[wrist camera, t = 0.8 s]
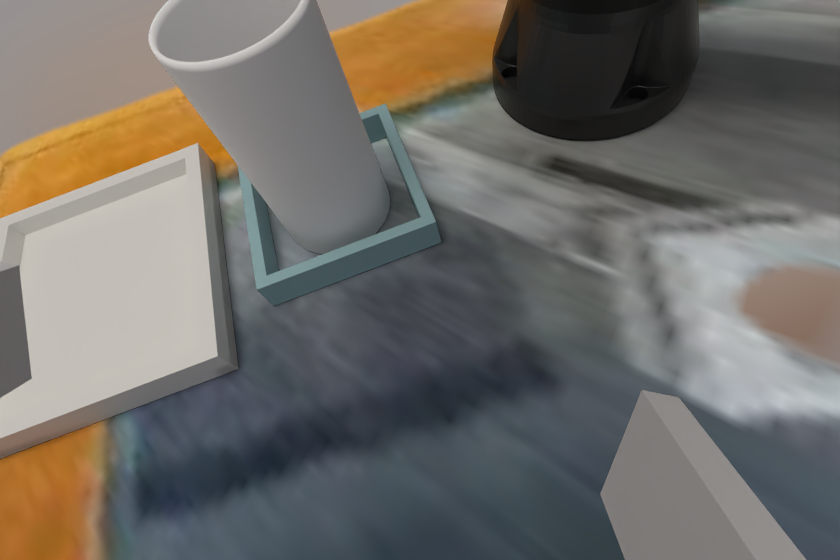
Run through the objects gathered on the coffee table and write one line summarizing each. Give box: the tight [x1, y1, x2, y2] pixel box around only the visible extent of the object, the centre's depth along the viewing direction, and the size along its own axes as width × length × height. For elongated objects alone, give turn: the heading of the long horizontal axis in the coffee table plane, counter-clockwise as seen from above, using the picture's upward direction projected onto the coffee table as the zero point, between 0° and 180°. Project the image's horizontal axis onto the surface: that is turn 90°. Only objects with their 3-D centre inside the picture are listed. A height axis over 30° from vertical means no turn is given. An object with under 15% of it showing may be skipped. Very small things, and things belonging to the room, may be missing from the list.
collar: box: [238, 104, 442, 306], centre depth 35 cm, size 13×13×2 cm
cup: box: [148, 0, 390, 254], centre depth 29 cm, size 8×8×16 cm
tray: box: [0, 143, 239, 459], centre depth 35 cm, size 20×18×2 cm
